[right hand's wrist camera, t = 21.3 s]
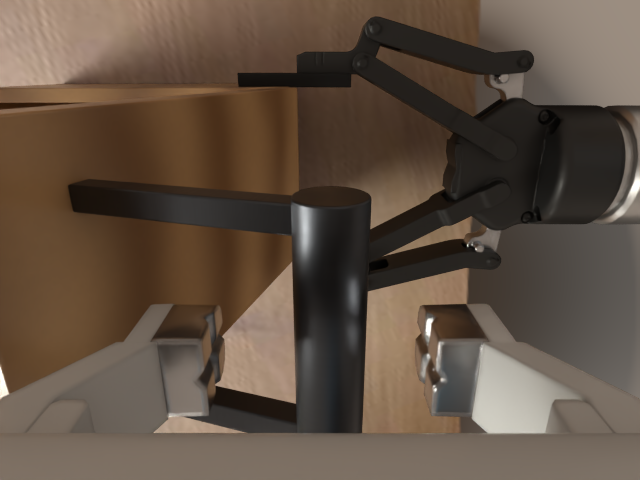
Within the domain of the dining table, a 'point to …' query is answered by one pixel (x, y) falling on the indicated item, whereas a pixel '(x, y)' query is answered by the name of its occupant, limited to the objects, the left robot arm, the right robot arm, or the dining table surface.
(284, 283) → the dining table surface
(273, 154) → the lid
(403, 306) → the dining table surface
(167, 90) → the chest
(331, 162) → the dining table surface
